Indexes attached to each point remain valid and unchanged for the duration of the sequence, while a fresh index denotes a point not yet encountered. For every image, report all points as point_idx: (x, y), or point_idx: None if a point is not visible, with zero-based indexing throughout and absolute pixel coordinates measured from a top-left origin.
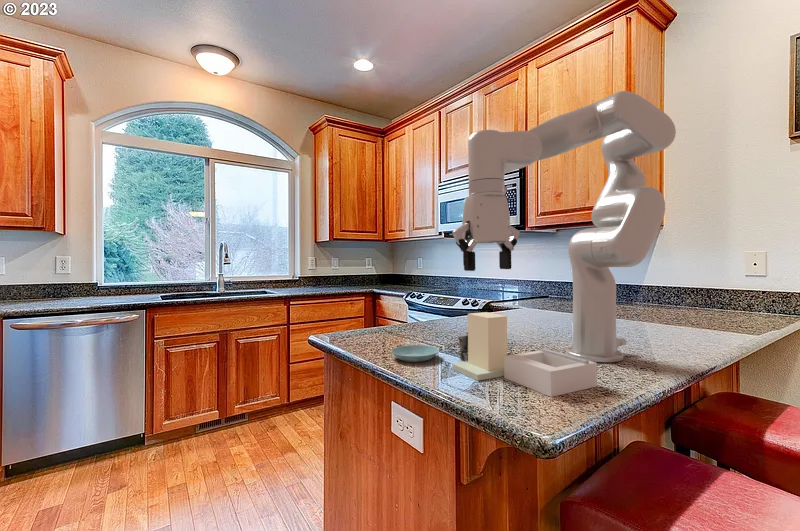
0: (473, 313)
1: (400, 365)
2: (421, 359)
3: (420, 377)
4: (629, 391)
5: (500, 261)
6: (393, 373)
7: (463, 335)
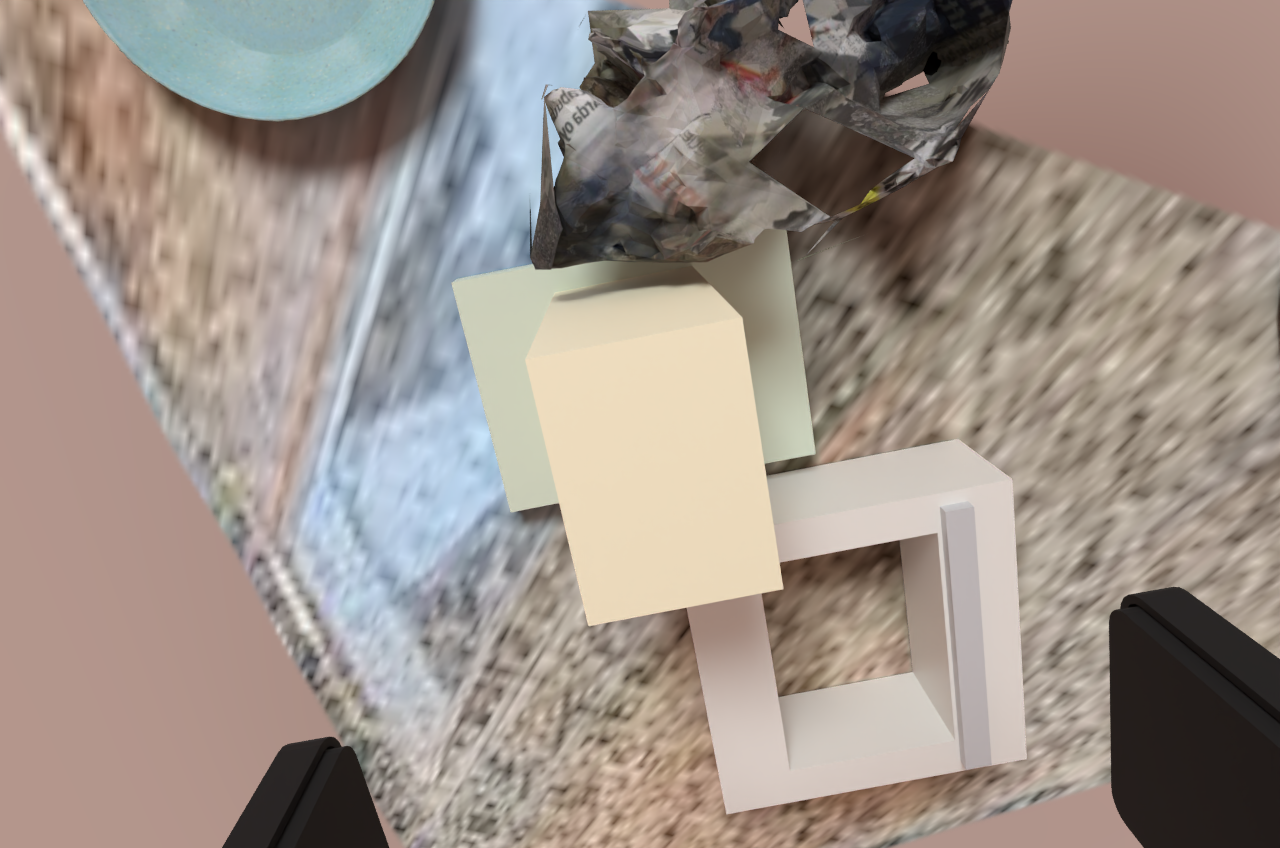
0: (582, 364)
1: (143, 96)
2: (284, 93)
3: (235, 371)
4: (1044, 756)
5: (1207, 712)
6: (85, 258)
7: (580, 138)
